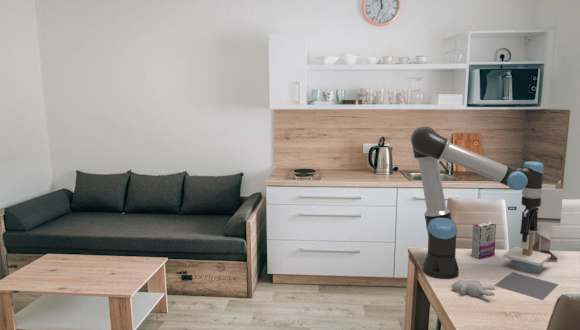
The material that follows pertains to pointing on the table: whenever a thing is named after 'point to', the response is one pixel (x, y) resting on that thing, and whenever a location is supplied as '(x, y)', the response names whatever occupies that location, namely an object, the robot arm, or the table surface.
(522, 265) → the slate bowl
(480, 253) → the candy bar box
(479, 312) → the table surface
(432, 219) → the robot arm
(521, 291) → the rubber mat
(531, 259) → the cream lid
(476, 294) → the bunny figurine
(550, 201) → the display case
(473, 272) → the table surface
